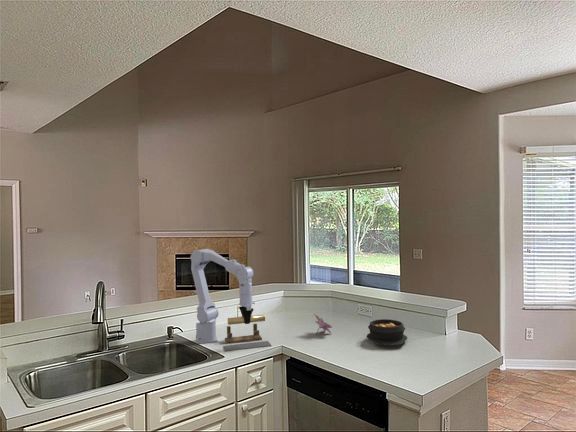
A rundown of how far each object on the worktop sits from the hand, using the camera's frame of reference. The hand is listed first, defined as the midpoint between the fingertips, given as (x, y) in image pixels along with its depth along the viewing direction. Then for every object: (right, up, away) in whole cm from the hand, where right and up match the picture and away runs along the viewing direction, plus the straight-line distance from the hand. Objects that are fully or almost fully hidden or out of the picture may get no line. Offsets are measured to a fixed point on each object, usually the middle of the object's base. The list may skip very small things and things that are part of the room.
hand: (246, 322), depth 194 cm
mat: (+1, -10, -1) cm, 11 cm away
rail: (0, +1, 0) cm, 2 cm away
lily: (+36, -10, +16) cm, 41 cm away
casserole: (+65, -9, +2) cm, 66 cm away
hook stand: (-2, -11, +9) cm, 14 cm away
